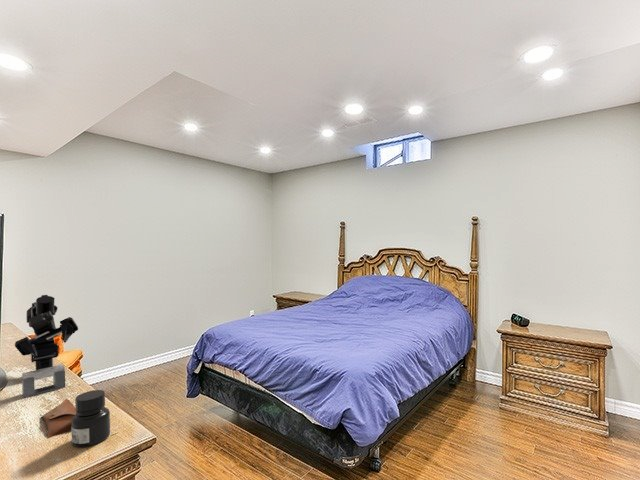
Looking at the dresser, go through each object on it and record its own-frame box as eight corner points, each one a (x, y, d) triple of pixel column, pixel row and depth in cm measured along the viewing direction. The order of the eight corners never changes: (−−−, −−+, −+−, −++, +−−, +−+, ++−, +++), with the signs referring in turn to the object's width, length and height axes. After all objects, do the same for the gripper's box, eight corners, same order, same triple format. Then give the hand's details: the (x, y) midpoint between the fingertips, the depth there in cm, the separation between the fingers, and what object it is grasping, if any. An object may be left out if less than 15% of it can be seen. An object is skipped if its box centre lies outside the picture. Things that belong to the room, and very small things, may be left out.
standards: (22, 394, 127) (22, 376, 127) (63, 383, 135) (62, 367, 135) (23, 397, 123) (23, 380, 123) (65, 387, 132) (64, 370, 132)
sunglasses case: (37, 416, 109) (50, 394, 111) (62, 420, 113) (74, 399, 116) (47, 439, 96) (62, 413, 99) (74, 442, 101) (87, 418, 103)
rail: (22, 380, 126) (22, 373, 126) (63, 371, 134) (63, 364, 134) (23, 383, 124) (22, 375, 124) (64, 373, 132) (64, 365, 132)
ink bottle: (67, 439, 96) (66, 395, 96) (103, 426, 103) (102, 385, 103) (77, 453, 90) (76, 406, 90) (115, 438, 96) (114, 394, 96)
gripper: (5, 323, 130) (6, 348, 119) (62, 298, 139) (68, 320, 128) (22, 343, 136) (24, 369, 125) (75, 318, 145) (82, 340, 135)
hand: (50, 348), depth 128 cm, fingers open, 9 cm apart
